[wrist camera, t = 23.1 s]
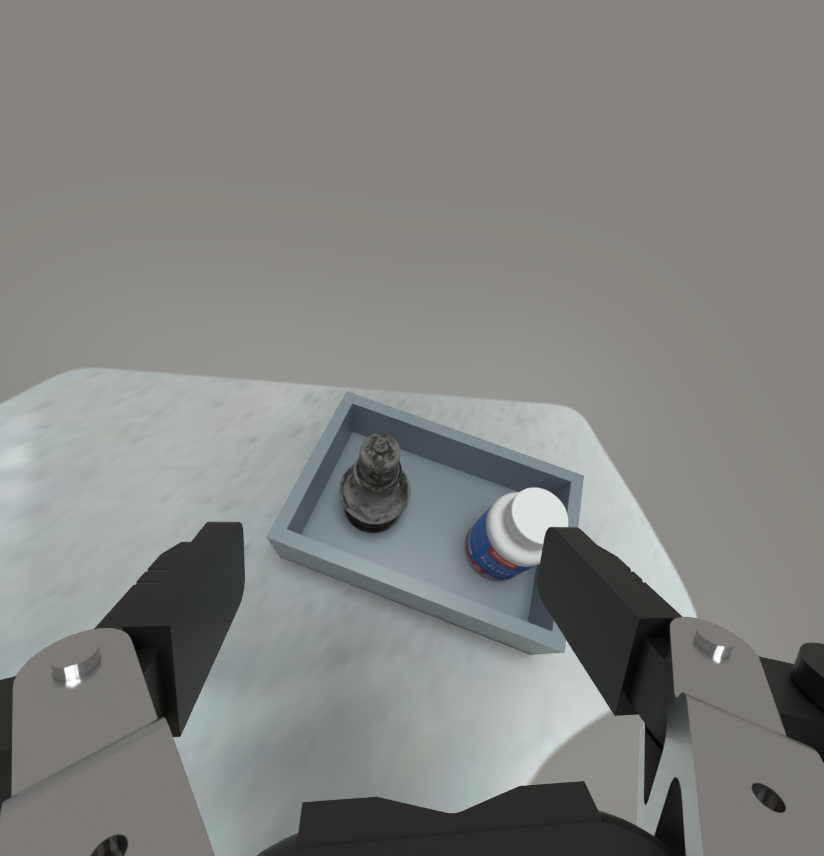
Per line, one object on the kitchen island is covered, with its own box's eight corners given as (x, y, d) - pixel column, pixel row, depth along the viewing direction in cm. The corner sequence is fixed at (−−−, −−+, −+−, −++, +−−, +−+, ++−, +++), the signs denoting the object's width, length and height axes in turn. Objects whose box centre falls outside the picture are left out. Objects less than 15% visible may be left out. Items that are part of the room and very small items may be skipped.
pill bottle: (462, 576, 33) (498, 547, 25) (466, 515, 36) (499, 470, 28) (525, 587, 33) (581, 561, 25) (524, 525, 36) (574, 484, 28)
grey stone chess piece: (328, 521, 34) (318, 460, 24) (357, 465, 37) (358, 389, 27) (391, 547, 34) (408, 496, 23) (415, 488, 37) (438, 420, 27)
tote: (280, 556, 33) (266, 537, 28) (347, 425, 40) (346, 391, 35) (530, 654, 32) (564, 652, 27) (553, 500, 39) (583, 475, 34)
